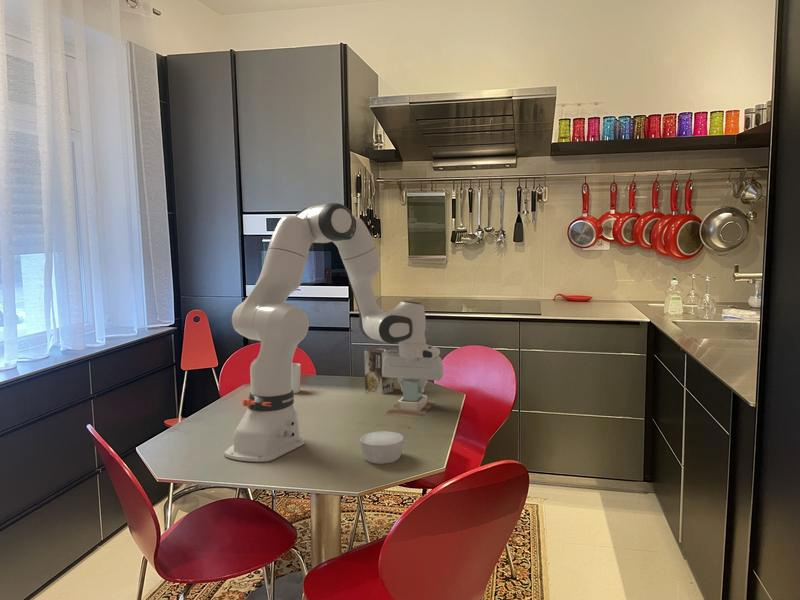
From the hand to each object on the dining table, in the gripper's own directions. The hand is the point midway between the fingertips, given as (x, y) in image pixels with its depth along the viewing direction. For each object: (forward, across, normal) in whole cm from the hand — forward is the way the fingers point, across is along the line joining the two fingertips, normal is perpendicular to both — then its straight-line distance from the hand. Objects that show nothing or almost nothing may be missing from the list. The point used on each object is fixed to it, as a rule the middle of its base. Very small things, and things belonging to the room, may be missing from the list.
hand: (412, 391), depth 194 cm
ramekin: (+6, +4, -43) cm, 44 cm away
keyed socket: (+5, 0, 0) cm, 5 cm away
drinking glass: (+6, -49, +10) cm, 50 cm away
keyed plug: (+2, 0, 0) cm, 2 cm away
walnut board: (+6, 0, -2) cm, 6 cm away
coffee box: (+6, -17, +16) cm, 24 cm away
